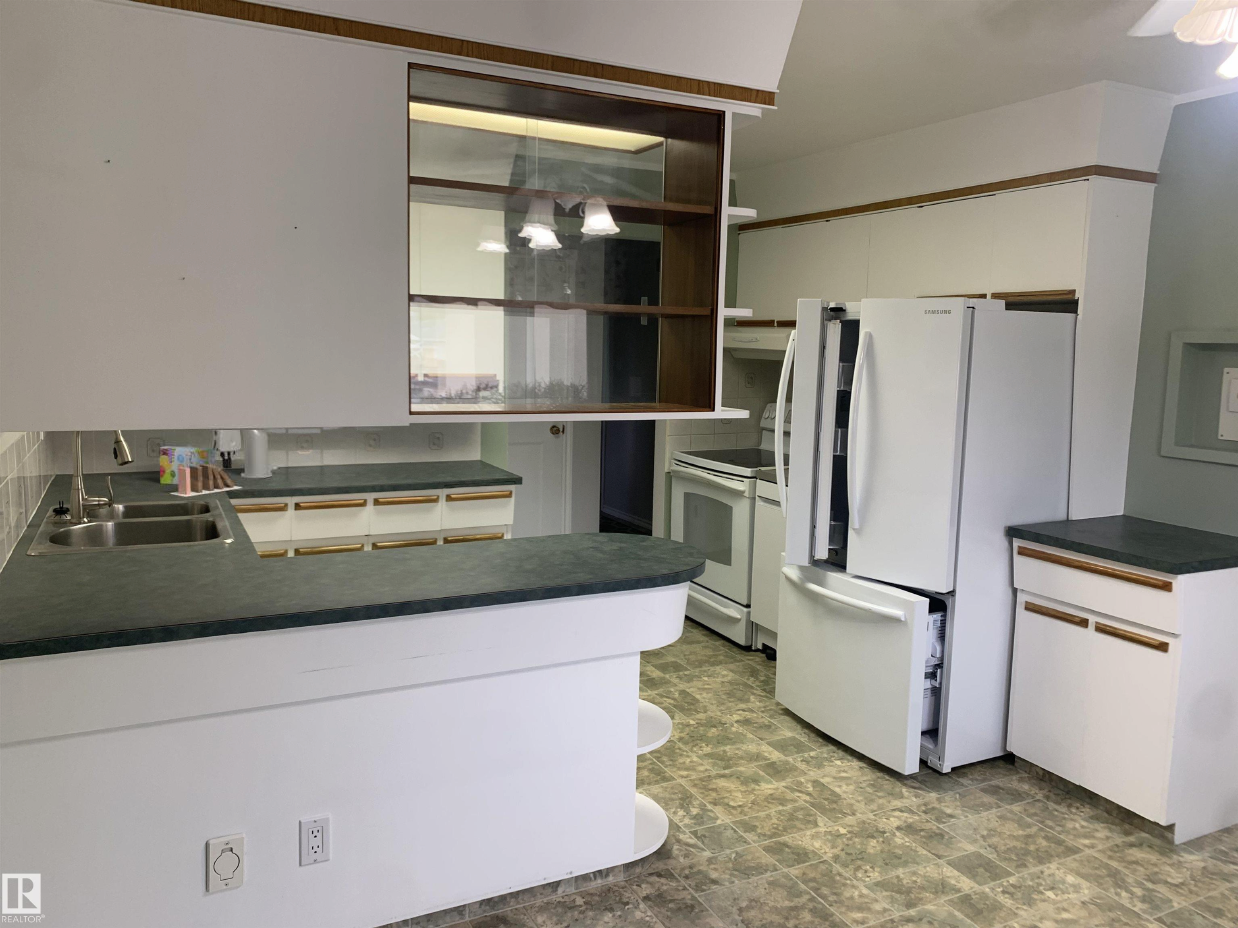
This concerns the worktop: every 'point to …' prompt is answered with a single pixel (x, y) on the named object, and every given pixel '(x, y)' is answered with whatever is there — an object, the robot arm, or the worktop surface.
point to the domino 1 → (184, 480)
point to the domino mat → (207, 491)
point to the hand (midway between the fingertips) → (227, 468)
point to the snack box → (182, 461)
